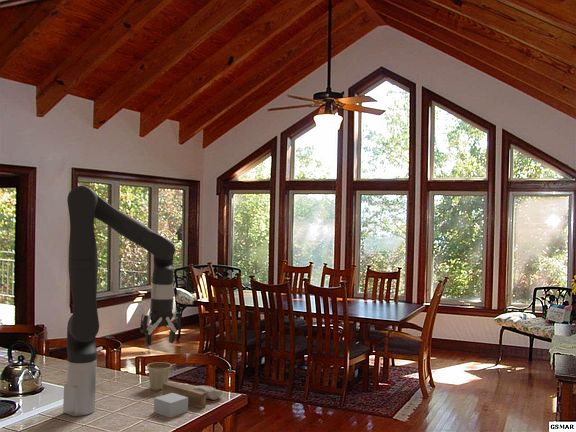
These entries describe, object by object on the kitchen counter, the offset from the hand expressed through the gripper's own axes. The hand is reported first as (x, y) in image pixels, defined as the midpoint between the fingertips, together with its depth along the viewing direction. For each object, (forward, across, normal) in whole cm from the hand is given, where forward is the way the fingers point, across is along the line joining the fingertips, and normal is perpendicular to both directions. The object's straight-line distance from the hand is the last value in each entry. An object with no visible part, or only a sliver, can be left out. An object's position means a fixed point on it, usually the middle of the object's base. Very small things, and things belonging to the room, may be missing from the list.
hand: (160, 343), depth 201 cm
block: (+22, +2, -6) cm, 23 cm away
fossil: (+22, +20, 0) cm, 30 cm away
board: (+22, +11, +1) cm, 24 cm away
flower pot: (+22, +11, +21) cm, 32 cm away
